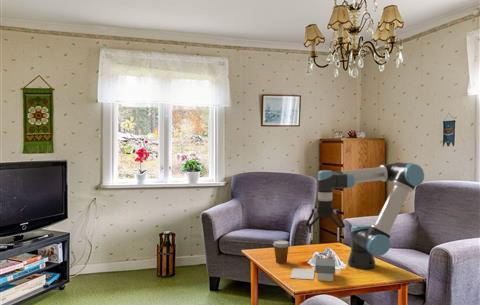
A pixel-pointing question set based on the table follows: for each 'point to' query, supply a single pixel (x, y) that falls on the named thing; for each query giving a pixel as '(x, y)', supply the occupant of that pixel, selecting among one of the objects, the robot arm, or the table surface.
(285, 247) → the disposable coffee cup
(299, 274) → the mat
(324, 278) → the storage box
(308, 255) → the table surface
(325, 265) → the lid
